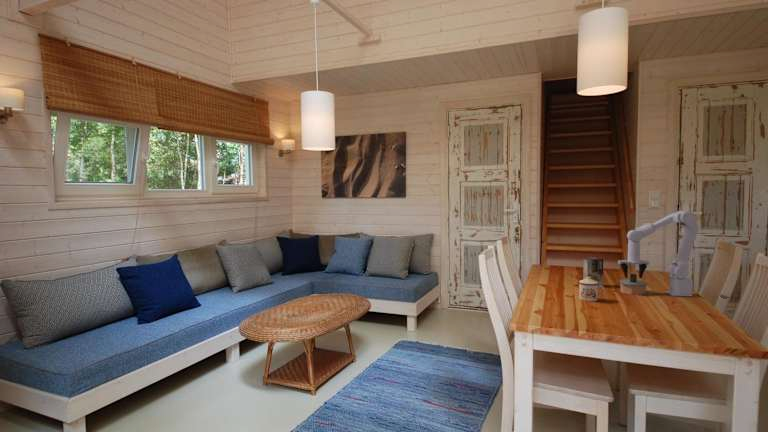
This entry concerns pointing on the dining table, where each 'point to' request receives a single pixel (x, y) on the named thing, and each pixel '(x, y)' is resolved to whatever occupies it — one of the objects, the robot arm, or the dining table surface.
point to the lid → (633, 281)
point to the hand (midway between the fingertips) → (633, 277)
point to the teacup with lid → (589, 289)
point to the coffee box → (593, 269)
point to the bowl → (633, 289)
